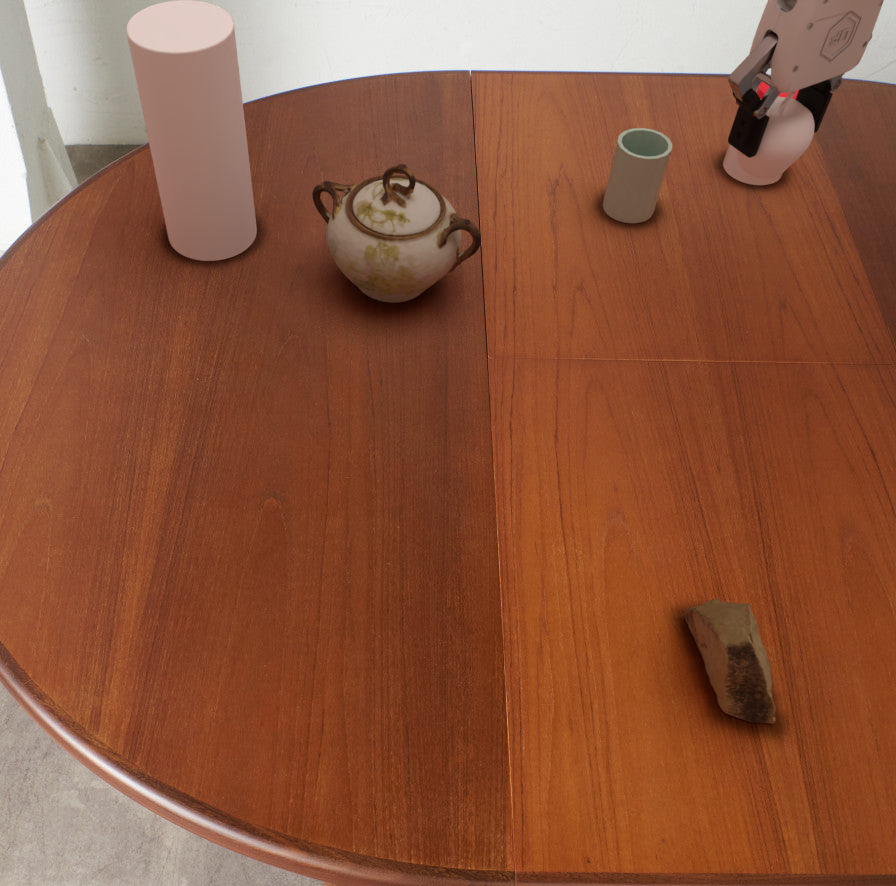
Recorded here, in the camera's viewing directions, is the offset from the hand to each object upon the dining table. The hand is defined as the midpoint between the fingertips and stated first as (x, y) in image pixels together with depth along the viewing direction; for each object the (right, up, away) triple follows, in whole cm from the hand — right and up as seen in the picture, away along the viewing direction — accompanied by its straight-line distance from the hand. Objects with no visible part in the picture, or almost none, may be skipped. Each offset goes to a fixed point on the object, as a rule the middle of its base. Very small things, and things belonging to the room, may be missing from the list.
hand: (772, 136), depth 88 cm
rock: (-7, -49, -8) cm, 50 cm away
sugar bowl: (-35, -8, +21) cm, 42 cm away
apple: (0, -2, +3) cm, 3 cm away
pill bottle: (+12, +10, +36) cm, 39 cm away
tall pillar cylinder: (-57, -1, +26) cm, 63 cm away
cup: (-6, +3, +30) cm, 31 cm away
